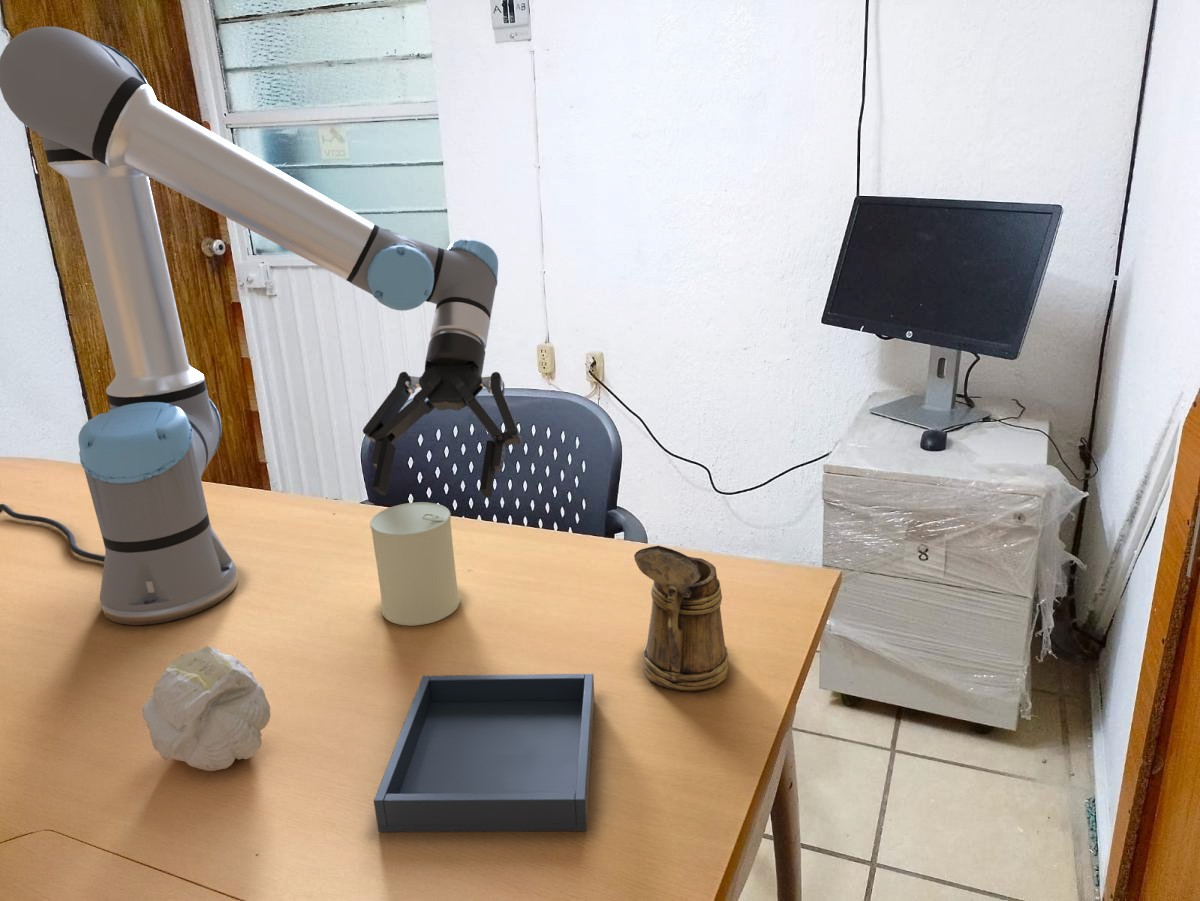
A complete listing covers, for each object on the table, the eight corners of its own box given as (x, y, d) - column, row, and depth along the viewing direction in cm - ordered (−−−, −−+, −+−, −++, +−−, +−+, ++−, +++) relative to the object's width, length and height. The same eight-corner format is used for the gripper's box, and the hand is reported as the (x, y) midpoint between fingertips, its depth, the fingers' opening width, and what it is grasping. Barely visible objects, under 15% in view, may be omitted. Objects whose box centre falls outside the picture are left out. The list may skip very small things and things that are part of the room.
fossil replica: (234, 798, 70) (301, 730, 79) (229, 712, 68) (298, 653, 77) (113, 769, 73) (192, 707, 82) (103, 685, 70) (186, 631, 80)
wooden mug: (614, 710, 79) (608, 540, 73) (657, 636, 91) (655, 484, 85) (705, 729, 76) (707, 553, 70) (737, 650, 88) (741, 494, 82)
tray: (378, 832, 66) (373, 801, 65) (425, 702, 81) (422, 675, 80) (586, 831, 65) (585, 799, 64) (594, 700, 81) (593, 673, 80)
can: (443, 629, 94) (432, 533, 90) (368, 622, 96) (354, 528, 92) (471, 589, 102) (462, 500, 98) (401, 584, 104) (390, 496, 100)
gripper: (554, 359, 112) (537, 505, 103) (379, 360, 116) (348, 501, 107) (543, 328, 105) (524, 482, 96) (358, 330, 109) (323, 478, 100)
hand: (431, 492), depth 102 cm, fingers open, 13 cm apart
